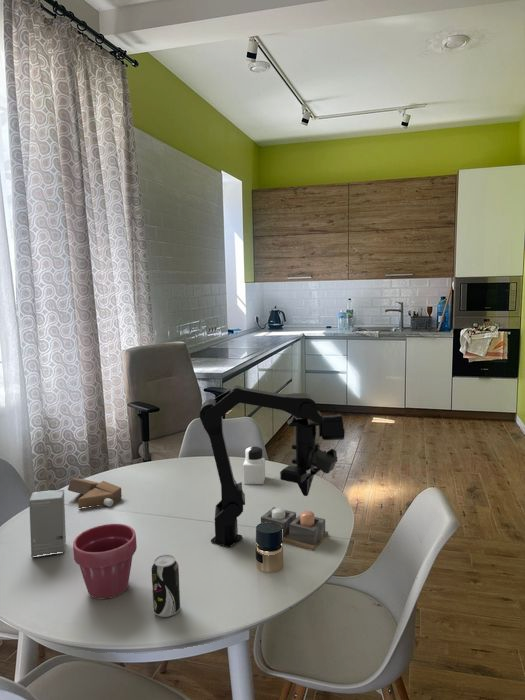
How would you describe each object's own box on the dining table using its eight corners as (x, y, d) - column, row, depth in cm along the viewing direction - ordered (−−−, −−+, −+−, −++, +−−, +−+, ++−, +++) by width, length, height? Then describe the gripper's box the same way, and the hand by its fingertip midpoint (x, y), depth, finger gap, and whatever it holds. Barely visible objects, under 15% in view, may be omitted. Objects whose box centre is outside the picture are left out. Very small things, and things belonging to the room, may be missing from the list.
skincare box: (31, 559, 136) (26, 501, 134) (35, 546, 143) (30, 491, 141) (65, 554, 138) (61, 497, 136) (68, 541, 145) (64, 487, 143)
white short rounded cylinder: (281, 532, 146) (281, 515, 145) (269, 529, 147) (269, 512, 147) (287, 526, 149) (287, 509, 148) (276, 523, 151) (275, 507, 150)
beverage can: (148, 611, 114) (145, 560, 112) (170, 599, 118) (168, 550, 116) (163, 623, 110) (160, 570, 108) (185, 610, 114) (183, 559, 112)
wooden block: (98, 523, 163) (56, 504, 170) (127, 501, 174) (87, 485, 181) (97, 502, 160) (55, 485, 168) (126, 482, 172) (85, 466, 179)
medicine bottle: (265, 476, 189) (264, 445, 187) (263, 484, 182) (262, 451, 180) (245, 476, 190) (245, 444, 188) (243, 484, 183) (242, 451, 181)
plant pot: (75, 578, 127) (72, 528, 125) (134, 566, 132) (132, 518, 130) (77, 613, 114) (73, 558, 112) (142, 598, 119) (139, 545, 117)
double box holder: (313, 550, 138) (313, 533, 137) (257, 535, 146) (257, 519, 145) (328, 534, 146) (328, 517, 145) (274, 521, 155) (274, 505, 154)
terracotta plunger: (310, 535, 141) (310, 518, 140) (298, 532, 143) (298, 515, 142) (316, 529, 144) (316, 512, 143) (304, 526, 146) (304, 509, 145)
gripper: (317, 455, 129) (318, 515, 132) (346, 435, 145) (346, 489, 147) (278, 449, 135) (279, 506, 137) (310, 430, 151) (310, 481, 153)
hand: (305, 495), depth 144 cm, fingers closed
